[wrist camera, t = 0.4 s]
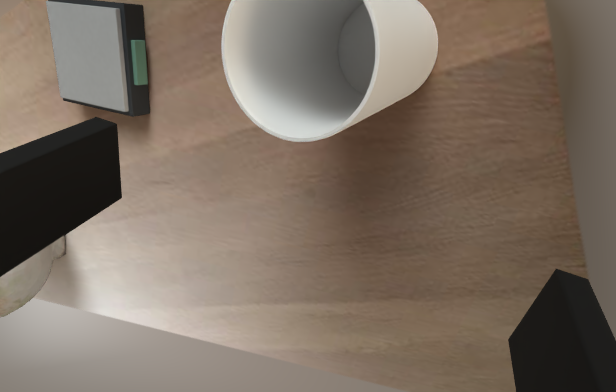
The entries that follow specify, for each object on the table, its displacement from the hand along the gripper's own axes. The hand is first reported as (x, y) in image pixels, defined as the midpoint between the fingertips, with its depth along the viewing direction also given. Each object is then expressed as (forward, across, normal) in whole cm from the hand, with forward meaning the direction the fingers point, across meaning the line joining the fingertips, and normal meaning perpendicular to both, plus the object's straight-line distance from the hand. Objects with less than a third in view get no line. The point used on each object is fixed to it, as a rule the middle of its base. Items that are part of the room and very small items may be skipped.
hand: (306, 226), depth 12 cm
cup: (+25, -2, +1) cm, 25 cm away
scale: (+28, -32, -7) cm, 43 cm away
